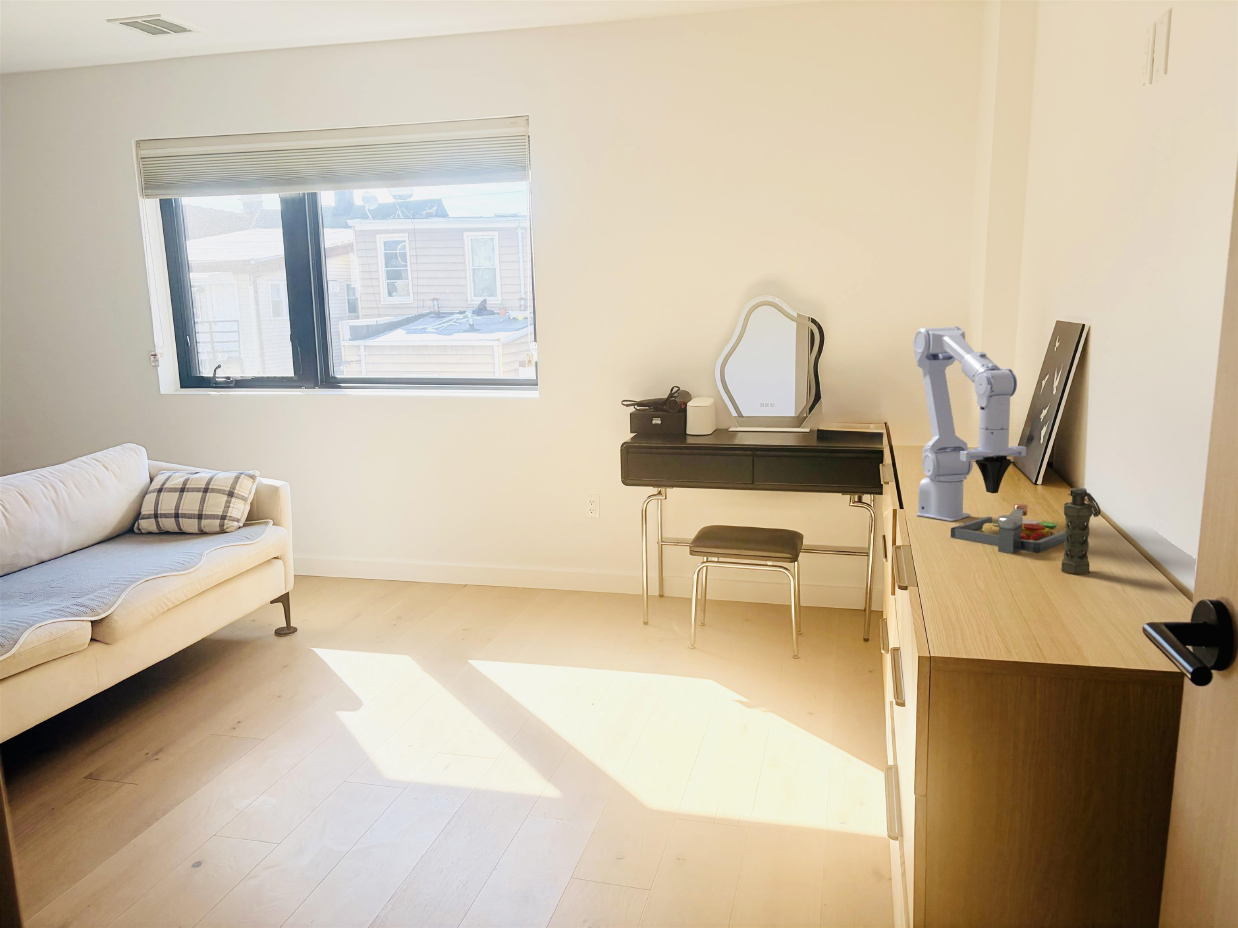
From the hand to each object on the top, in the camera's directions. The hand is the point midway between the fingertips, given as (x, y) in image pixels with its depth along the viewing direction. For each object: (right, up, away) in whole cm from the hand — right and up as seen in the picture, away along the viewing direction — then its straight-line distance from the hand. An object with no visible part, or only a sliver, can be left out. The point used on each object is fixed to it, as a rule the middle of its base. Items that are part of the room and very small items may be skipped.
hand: (992, 492), depth 180 cm
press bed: (+2, -10, -2) cm, 10 cm away
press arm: (+2, -6, -7) cm, 9 cm away
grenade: (+5, -13, -25) cm, 29 cm away
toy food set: (+6, -10, -1) cm, 11 cm away
